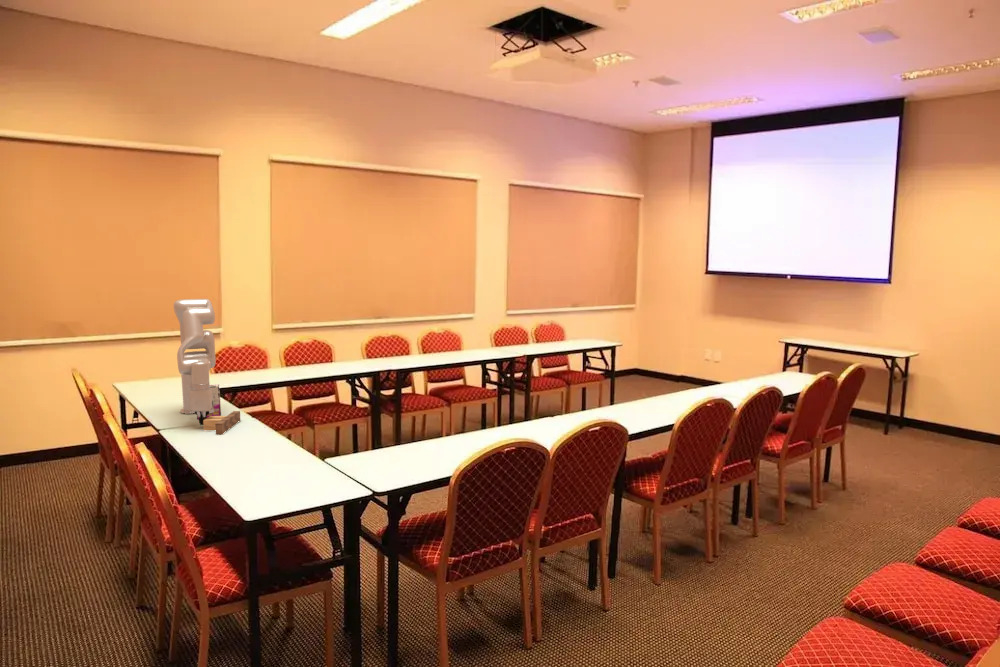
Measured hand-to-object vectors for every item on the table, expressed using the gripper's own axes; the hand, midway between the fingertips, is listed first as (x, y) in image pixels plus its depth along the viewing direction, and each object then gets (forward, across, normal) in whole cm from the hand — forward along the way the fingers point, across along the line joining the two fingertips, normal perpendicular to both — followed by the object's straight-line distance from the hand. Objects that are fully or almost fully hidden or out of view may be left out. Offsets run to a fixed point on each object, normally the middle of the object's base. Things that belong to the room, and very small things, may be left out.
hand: (203, 424), depth 317 cm
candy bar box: (+2, -5, +19) cm, 20 cm away
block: (+2, +6, -2) cm, 7 cm away
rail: (+1, +12, 0) cm, 12 cm away
